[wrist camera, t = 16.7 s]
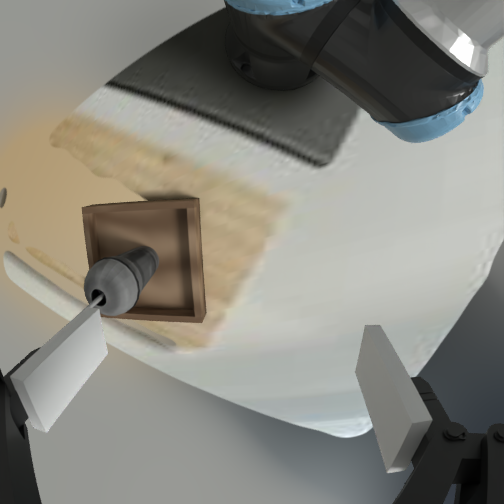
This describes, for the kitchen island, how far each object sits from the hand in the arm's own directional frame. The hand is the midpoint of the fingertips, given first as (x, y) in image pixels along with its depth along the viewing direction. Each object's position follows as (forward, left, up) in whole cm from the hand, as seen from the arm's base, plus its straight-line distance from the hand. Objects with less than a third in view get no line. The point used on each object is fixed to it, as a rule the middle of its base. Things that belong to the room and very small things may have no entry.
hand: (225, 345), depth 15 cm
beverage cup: (+5, -17, -32) cm, 37 cm away
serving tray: (+5, -17, -33) cm, 37 cm away
